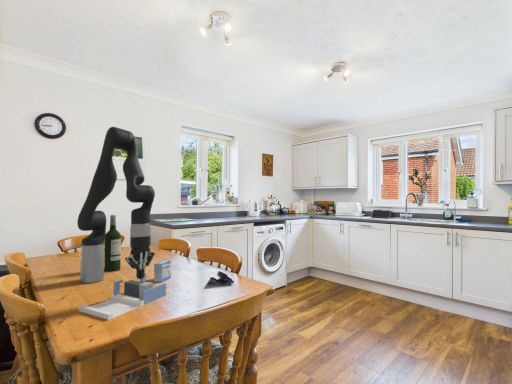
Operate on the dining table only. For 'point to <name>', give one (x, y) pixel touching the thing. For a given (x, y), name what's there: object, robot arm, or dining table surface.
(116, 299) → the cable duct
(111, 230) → the wine bottle
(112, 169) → the robot arm
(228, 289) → the dining table surface
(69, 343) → the dining table surface
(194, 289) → the dining table surface
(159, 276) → the medicine box
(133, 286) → the grey rectangular blocks
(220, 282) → the black clip
